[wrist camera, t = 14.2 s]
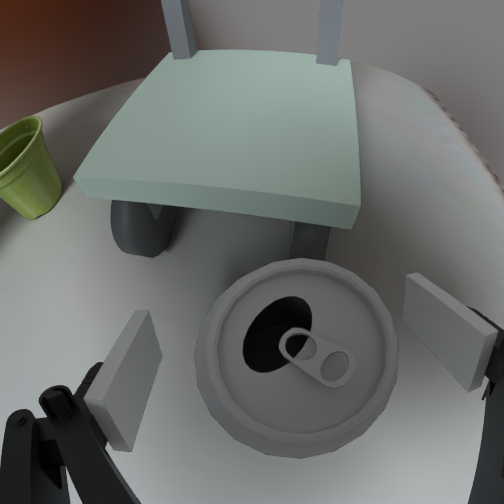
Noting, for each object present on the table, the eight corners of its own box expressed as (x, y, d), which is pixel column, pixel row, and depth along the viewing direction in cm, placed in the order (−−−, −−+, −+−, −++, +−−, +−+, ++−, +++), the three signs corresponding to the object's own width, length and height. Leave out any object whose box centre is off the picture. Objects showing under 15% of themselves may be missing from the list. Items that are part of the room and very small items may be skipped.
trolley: (125, 266, 24) (-39, 3, 4) (190, 124, 32) (150, -69, 12) (325, 301, 22) (445, -93, 2) (335, 138, 30) (361, -77, 10)
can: (272, 308, 22) (275, 203, 11) (359, 364, 19) (449, 310, 9) (206, 390, 19) (135, 366, 9) (296, 453, 17) (333, 507, 6)
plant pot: (44, 164, 32) (13, 116, 24) (90, 172, 30) (56, 113, 22) (3, 222, 28) (-38, 179, 20) (43, 242, 26) (-6, 190, 18)
